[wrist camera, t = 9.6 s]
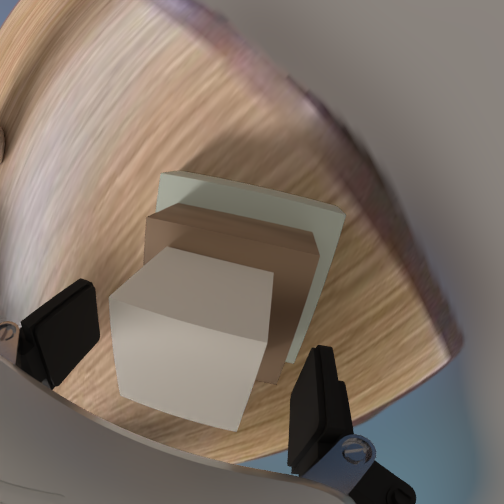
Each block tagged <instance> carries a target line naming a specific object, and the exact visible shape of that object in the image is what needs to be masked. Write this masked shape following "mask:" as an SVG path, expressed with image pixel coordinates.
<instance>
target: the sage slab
mask: <svg viewBox="0 0 504 504" xmlns="http://www.w3.org/2000/svg"><path fill="white" fill-rule="evenodd" d="M177 203H181V204H186V205H191V206H196V207H201V208H206V209H211V210H216V211H221V212H225V213H230V214H235V215H239V216H244V217H249V218H253V219H258V220H262V221H267V222H271V223H276V224H280V225H284V226H289V227H293V228H297V229H302V230H306V231H310V232H313V235H314V238H315V241H316V244H317V248H318V251H319V254H320V258H319V261H318V265H317V268H316V271H315V275H314V278H313V281H312V284H311V288H310V291H309V294H308V297H307V300H306V303H305V306H304V309H303V312H302V315H301V318H300V321H299V324H298V327H297V330H296V333H295V336H294V339H293V341H292V344H291V347H290V350H289V353H288V355H287V358H286V361H285V362H288V363H293V364H294V362H295V359H296V357H297V354H298V352H299V350H300V347H301V345H302V342H303V340H304V337H305V335H306V332H307V329H308V327H309V324H310V322H311V319H312V316H313V314H314V311H315V308H316V306H317V303H318V300H319V297H320V295H321V292H322V289H323V286H324V283H325V280H326V277H327V274H328V271H329V268H330V265H331V262H332V259H333V256H334V253H335V250H336V247H337V244H338V240H339V237H340V234H341V231H342V227H343V224H344V220H345V217H346V214H345V213H344V212H343V211H342V210H341V209H340V208H339V207H338V206H335V205H331V204H328V203H324V202H320V201H317V200H313V199H309V198H305V197H301V196H297V195H293V194H289V193H285V192H281V191H277V190H273V189H268V188H264V187H260V186H255V185H251V184H246V183H242V182H237V181H232V180H228V179H223V178H218V177H213V176H207V175H202V174H197V173H191V172H186V171H180V170H178V171H171V172H165V173H161V175H160V182H159V189H158V197H157V205H156V212H159V211H161V210H163V209H165V208H167V207H170V206H172V205H174V204H177Z"/></svg>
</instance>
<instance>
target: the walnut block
mask: <svg viewBox="0 0 504 504" xmlns="http://www.w3.org/2000/svg"><path fill="white" fill-rule="evenodd" d="M165 247H171V248H175V249H179V250H183V251H187V252H191V253H195V254H199V255H203V256H207V257H211V258H215V259H219V260H223V261H227V262H232V263H236V264H240V265H244V266H248V267H252V268H256V269H261V270H265V271H269V272H273V273H274V276H273V288H272V299H271V310H270V321H269V332H268V342H267V346H266V349H265V352H264V355H263V358H262V361H261V364H260V367H259V370H258V373H257V376H256V379H255V381H260V382H265V383H270V384H276V385H277V382H278V379H279V377H280V374H281V371H282V369H283V366H284V364H285V361H286V358H287V355H288V353H289V350H290V347H291V344H292V341H293V339H294V336H295V333H296V330H297V327H298V324H299V321H300V318H301V315H302V312H303V309H304V306H305V303H306V300H307V297H308V294H309V291H310V288H311V284H312V281H313V278H314V275H315V271H316V268H317V265H318V261H319V258H320V254H319V251H318V248H317V244H316V241H315V238H314V235H313V232H310V231H306V230H302V229H297V228H293V227H289V226H284V225H280V224H276V223H271V222H267V221H262V220H258V219H253V218H249V217H244V216H239V215H235V214H230V213H225V212H221V211H216V210H211V209H206V208H201V207H196V206H191V205H186V204H181V203H177V204H174V205H172V206H170V207H167V208H165V209H163V210H161V211H159V212H156V213H154V214H152V215H150V216H148V217H146V230H145V245H144V265H145V264H147V263H148V262H149V261H150V260H151V259H152V258H154V257H155V256H156V255H157V254H158V253H159V252H161V251H162V250H163V249H164V248H165Z"/></svg>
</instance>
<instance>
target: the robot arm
mask: <svg viewBox="0 0 504 504" xmlns="http://www.w3.org/2000/svg"><path fill="white" fill-rule="evenodd" d="M21 325H22V327H21V328H20V329H19V327H18V325H17V324H16V323H14V322H10V321H6V322H2V323H0V504H415V503H416V494H415V491H414V490H413V488H412V487H411V486H410V485H408V484H407V483H406V482H404V481H403V480H401V479H400V478H398V477H397V476H395V475H394V474H393V473H391V472H390V471H388V470H387V469H386V468H384V467H383V466H381V465H380V464H379V463H377V462H376V461H375V458H376V449H375V447H374V445H373V444H372V442H371V441H370V440H368V439H367V438H365V437H363V436H361V435H356V434H354V433H353V426H352V420H351V413H350V408H349V402H348V396H347V391H346V385H345V383H344V382H343V381H338V376H337V370H336V364H335V359H334V353H333V349H332V347H328V346H322V345H318V346H317V347H316V348H312V349H311V350H310V353H309V355H308V357H307V360H306V362H305V364H304V367H303V369H302V371H301V373H300V376H299V378H298V380H297V382H296V384H295V386H294V389H293V391H292V393H291V398H290V422H289V444H288V462H287V464H288V466H291V467H292V472H291V473H292V474H299V477H297V476H293V475H288V474H282V473H277V472H271V471H266V470H260V469H254V468H249V467H244V466H239V465H235V464H230V463H226V462H222V461H218V460H214V459H210V458H206V457H202V456H199V455H195V454H192V453H188V452H185V451H182V450H179V449H176V448H173V447H170V446H167V445H164V444H161V443H158V442H156V441H153V440H150V439H148V438H145V437H143V436H140V435H138V434H135V433H133V432H130V431H128V430H126V429H124V428H121V427H119V426H117V425H115V424H113V423H110V422H108V421H106V420H104V419H102V418H100V417H98V416H96V415H94V414H92V413H90V412H89V411H87V410H85V409H83V408H81V407H79V406H78V405H76V404H74V403H72V402H71V401H69V400H67V399H65V398H64V397H62V396H60V395H59V394H57V393H56V392H54V391H52V390H53V388H54V387H55V386H59V385H60V384H61V383H62V381H63V380H64V379H65V378H66V377H67V376H68V375H69V373H70V372H71V371H72V370H73V369H74V368H75V367H76V365H77V364H78V363H79V362H80V361H81V360H82V359H83V358H84V356H85V355H86V354H87V353H88V352H89V351H90V350H91V349H92V348H93V346H94V345H95V344H96V343H97V342H98V341H99V338H100V330H99V322H98V314H97V303H96V291H95V287H94V286H93V284H92V283H91V282H89V281H87V280H84V279H79V280H77V281H76V282H74V283H73V284H71V285H70V286H68V287H67V288H66V289H64V290H63V291H61V292H60V293H59V294H57V295H56V296H54V297H53V298H52V299H50V300H49V301H48V302H46V303H45V304H43V305H42V306H41V307H39V308H38V309H37V310H35V311H34V312H33V313H31V314H30V315H29V316H28V317H26V318H25V319H24V320H22V321H21Z"/></svg>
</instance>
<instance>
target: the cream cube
mask: <svg viewBox="0 0 504 504" xmlns="http://www.w3.org/2000/svg"><path fill="white" fill-rule="evenodd" d="M273 276H274V273H273V272H269V271H265V270H261V269H256V268H252V267H248V266H244V265H240V264H236V263H232V262H227V261H223V260H219V259H215V258H211V257H207V256H203V255H199V254H195V253H191V252H187V251H183V250H179V249H175V248H171V247H165V248H164V249H163V250H162V251H161V252H159V253H158V254H157V255H156V256H155V257H154V258H152V259H151V260H150V261H149V262H148V263H147V264H145V265H144V266H143V267H142V268H141V269H140V270H138V271H137V272H136V273H135V274H134V275H133V276H132V277H130V278H129V279H128V280H127V281H126V282H125V283H124V284H123V285H121V286H120V287H119V288H118V289H117V290H116V291H115V292H114V293H113V294H111V295H110V296H109V311H110V324H111V335H112V344H113V352H114V360H115V367H116V374H117V380H118V386H119V391H120V396H123V397H125V398H128V399H130V400H132V401H135V402H138V403H140V404H143V405H145V406H148V407H151V408H154V409H156V410H159V411H162V412H165V413H168V414H171V415H174V416H177V417H181V418H184V419H187V420H191V421H194V422H198V423H201V424H205V425H209V426H213V427H217V428H221V429H225V430H230V431H234V432H237V429H238V426H239V424H240V421H241V418H242V416H243V413H244V410H245V407H246V404H247V402H248V399H249V396H250V393H251V390H252V387H253V384H254V381H255V379H256V376H257V373H258V370H259V367H260V364H261V361H262V358H263V355H264V352H265V349H266V346H267V342H268V332H269V321H270V310H271V299H272V288H273Z"/></svg>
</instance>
